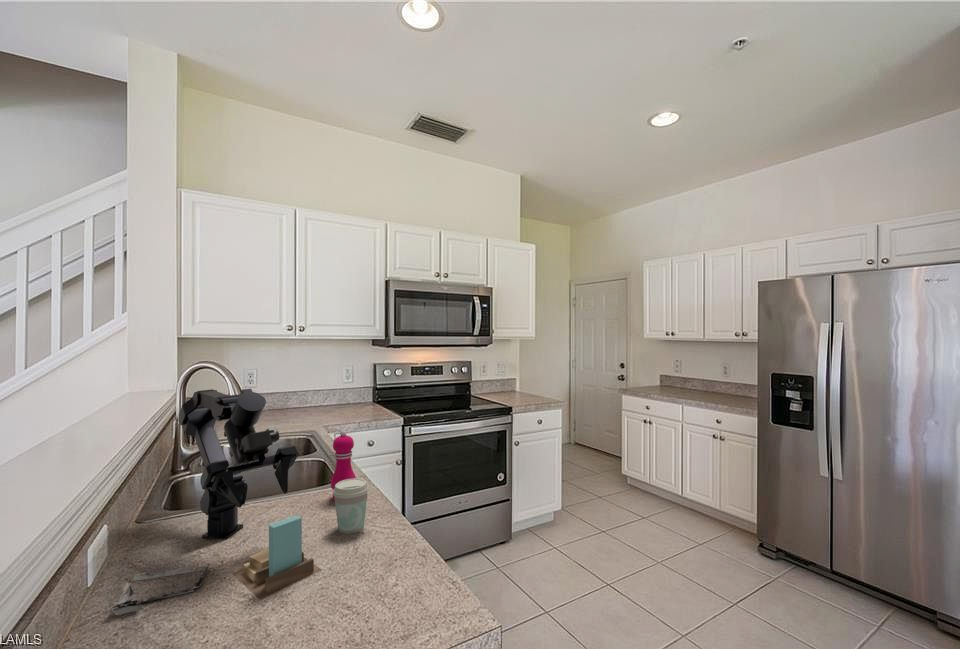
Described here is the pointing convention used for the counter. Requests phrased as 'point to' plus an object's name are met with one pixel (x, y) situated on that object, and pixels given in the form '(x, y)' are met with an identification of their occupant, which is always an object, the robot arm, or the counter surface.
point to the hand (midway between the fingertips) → (264, 499)
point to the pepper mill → (342, 459)
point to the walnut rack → (277, 578)
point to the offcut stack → (256, 563)
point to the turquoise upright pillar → (285, 544)
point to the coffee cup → (351, 505)
